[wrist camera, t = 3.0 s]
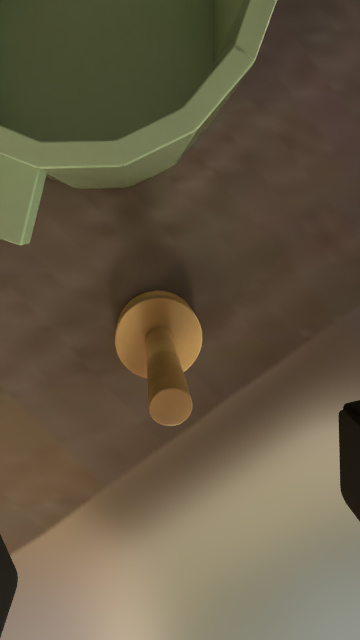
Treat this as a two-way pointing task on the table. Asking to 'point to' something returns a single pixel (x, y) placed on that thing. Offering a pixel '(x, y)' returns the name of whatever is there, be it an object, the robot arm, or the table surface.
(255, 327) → the table surface
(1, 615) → the robot arm
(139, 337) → the disc with rod handle
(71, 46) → the pot
